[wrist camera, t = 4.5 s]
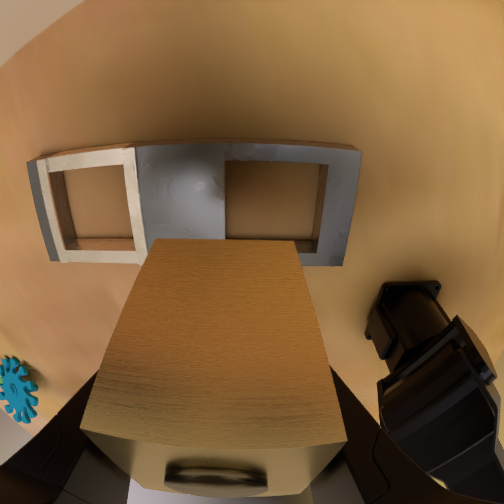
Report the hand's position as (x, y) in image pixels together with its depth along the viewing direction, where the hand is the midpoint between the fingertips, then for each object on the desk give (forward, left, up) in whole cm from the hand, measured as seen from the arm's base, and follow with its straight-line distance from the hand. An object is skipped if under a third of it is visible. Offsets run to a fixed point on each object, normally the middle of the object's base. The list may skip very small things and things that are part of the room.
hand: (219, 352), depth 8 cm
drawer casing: (+3, 0, -13) cm, 13 cm away
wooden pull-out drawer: (0, 0, -3) cm, 3 cm away
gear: (+32, +26, -13) cm, 43 cm away
